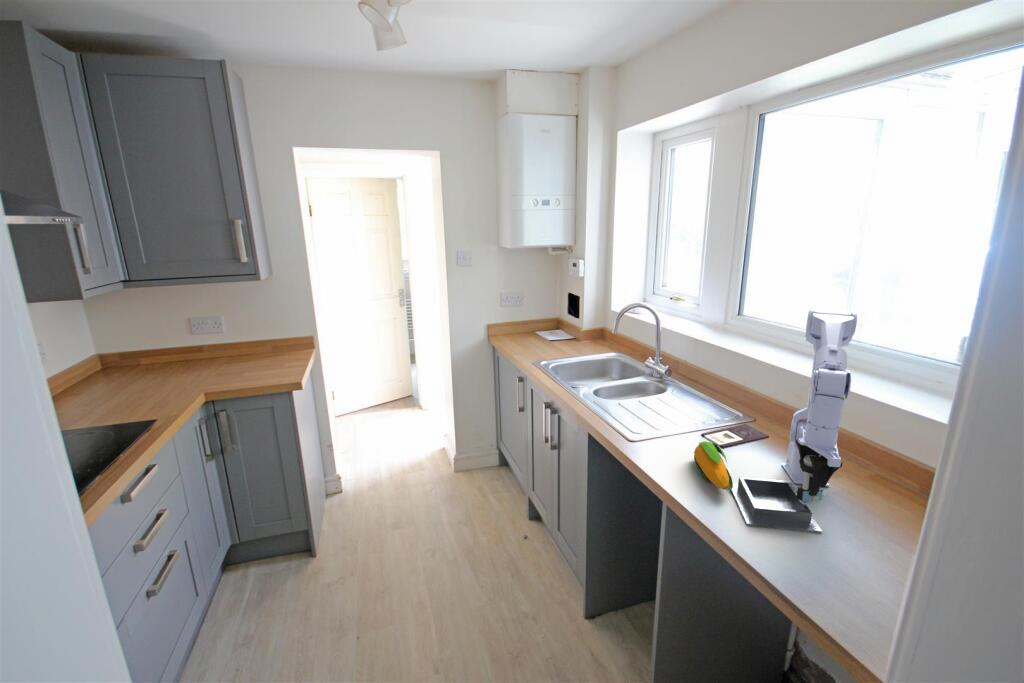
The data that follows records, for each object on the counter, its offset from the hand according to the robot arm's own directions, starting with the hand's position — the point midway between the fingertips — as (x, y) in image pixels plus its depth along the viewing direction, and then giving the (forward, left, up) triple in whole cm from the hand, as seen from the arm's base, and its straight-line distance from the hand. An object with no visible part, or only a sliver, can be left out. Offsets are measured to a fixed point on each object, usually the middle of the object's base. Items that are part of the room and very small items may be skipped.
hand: (812, 478), depth 101 cm
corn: (-14, -17, -10) cm, 24 cm away
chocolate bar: (-39, -6, -10) cm, 40 cm away
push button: (0, +1, -5) cm, 5 cm away
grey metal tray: (-2, -7, -10) cm, 12 cm away
